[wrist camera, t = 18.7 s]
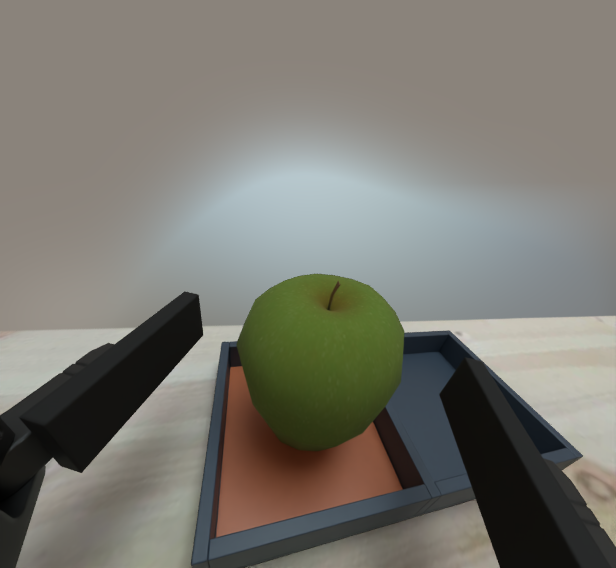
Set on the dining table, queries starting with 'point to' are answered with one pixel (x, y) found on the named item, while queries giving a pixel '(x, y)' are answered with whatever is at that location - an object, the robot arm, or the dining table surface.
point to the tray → (339, 464)
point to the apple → (321, 359)
